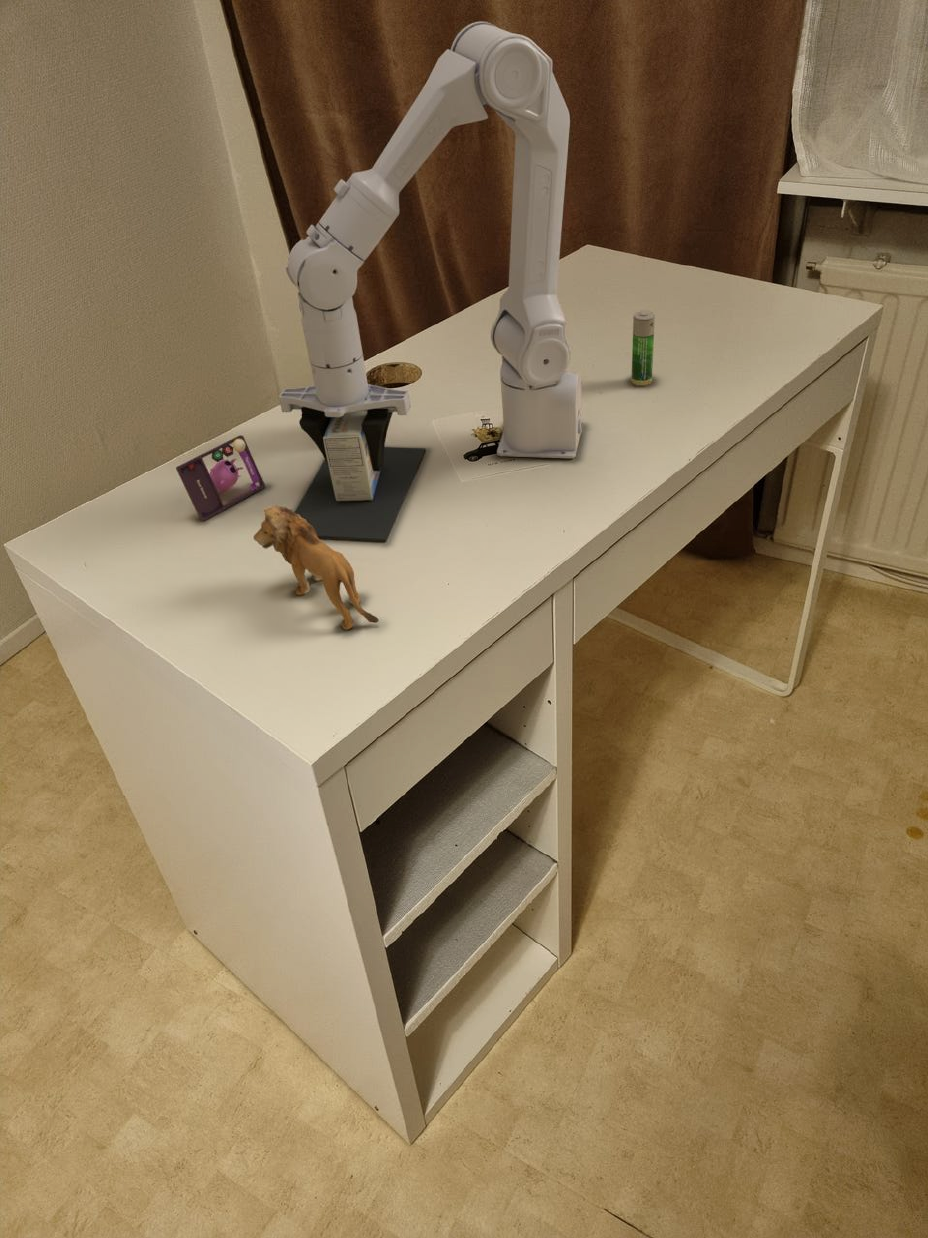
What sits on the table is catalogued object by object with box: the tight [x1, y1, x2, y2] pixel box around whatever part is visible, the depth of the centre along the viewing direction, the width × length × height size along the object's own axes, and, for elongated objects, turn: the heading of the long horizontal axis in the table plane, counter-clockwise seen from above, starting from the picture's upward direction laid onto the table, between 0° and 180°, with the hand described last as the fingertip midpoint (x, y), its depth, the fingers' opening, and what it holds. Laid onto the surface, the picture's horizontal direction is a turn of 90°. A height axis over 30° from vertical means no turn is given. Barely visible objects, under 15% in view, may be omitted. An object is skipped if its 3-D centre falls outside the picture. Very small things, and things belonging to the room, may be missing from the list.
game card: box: [175, 435, 266, 522], centre depth 111 cm, size 7×5×9 cm
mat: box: [294, 446, 427, 543], centre depth 111 cm, size 12×19×1 cm, turn 168°
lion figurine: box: [253, 504, 380, 630], centre depth 93 cm, size 15×5×9 cm, turn 50°
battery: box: [631, 310, 656, 387], centre depth 122 cm, size 3×3×10 cm
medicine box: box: [323, 411, 382, 501], centre depth 109 cm, size 8×4×9 cm, turn 175°
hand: (356, 465), depth 110 cm, fingers closed on medicine box, 5 cm apart
